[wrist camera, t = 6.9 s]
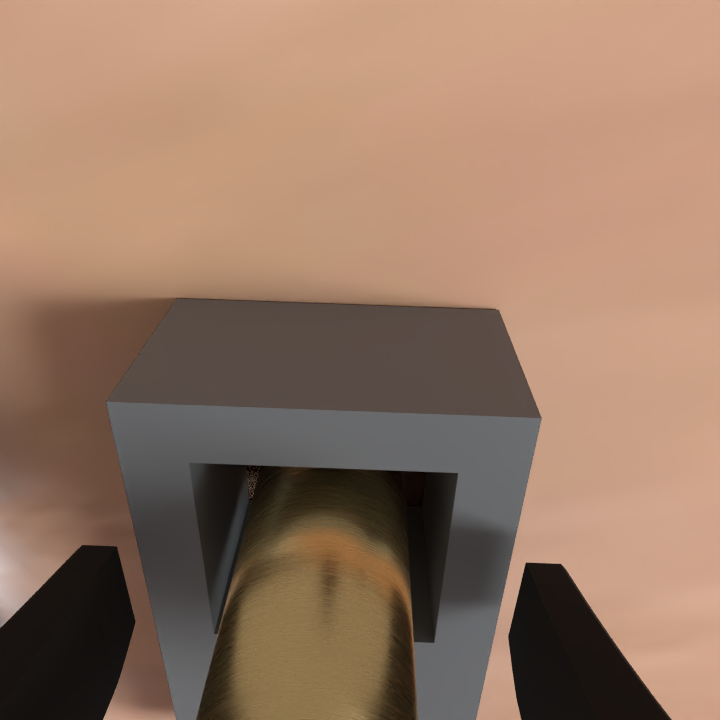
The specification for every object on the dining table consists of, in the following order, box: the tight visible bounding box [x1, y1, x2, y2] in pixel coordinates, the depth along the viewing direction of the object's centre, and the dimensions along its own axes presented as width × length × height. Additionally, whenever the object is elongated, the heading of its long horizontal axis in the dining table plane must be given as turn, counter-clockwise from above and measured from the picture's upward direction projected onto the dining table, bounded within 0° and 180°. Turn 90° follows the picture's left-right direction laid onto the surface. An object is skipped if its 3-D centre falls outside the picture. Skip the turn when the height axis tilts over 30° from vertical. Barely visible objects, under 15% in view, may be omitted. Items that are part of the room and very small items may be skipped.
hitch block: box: [106, 298, 541, 720], centre depth 16 cm, size 16×7×4 cm, turn 178°
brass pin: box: [196, 466, 418, 720], centre depth 12 cm, size 3×3×8 cm
